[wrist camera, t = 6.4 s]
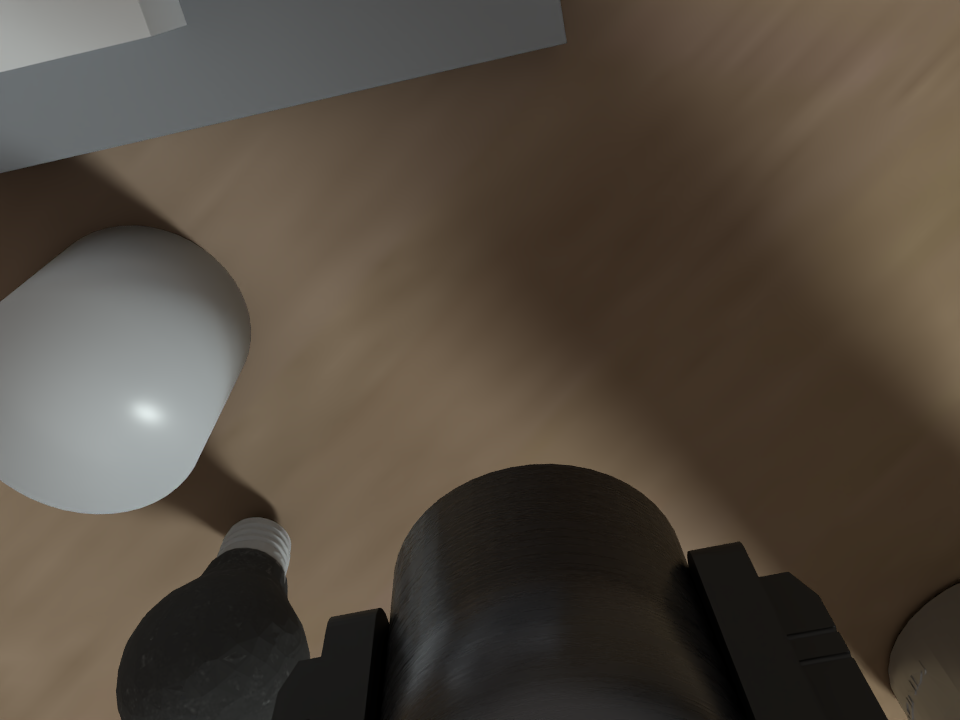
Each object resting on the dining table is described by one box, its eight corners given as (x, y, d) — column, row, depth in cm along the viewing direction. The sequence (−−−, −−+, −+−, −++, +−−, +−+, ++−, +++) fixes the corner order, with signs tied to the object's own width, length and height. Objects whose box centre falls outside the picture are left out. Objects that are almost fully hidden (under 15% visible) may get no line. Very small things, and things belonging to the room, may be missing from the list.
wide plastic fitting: (210, 204, 27) (149, 270, 22) (277, 390, 30) (239, 489, 24) (7, 250, 27) (-102, 326, 22) (93, 428, 30) (16, 533, 25)
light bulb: (295, 448, 31) (231, 655, 22) (361, 561, 33) (328, 791, 24) (159, 497, 32) (43, 717, 23) (233, 605, 34) (154, 843, 25)
